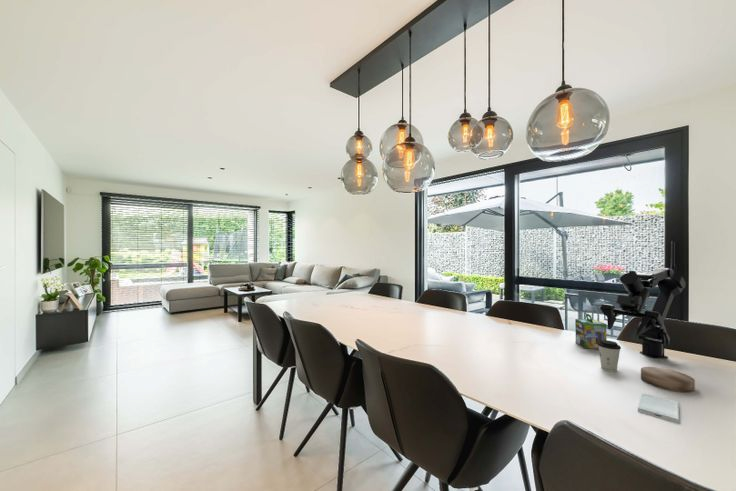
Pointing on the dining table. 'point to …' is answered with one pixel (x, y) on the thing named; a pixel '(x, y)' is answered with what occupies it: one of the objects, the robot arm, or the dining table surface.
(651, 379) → the podium
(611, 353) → the coffee cup
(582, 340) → the chalk box
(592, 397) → the dining table surface
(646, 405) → the hard drive
